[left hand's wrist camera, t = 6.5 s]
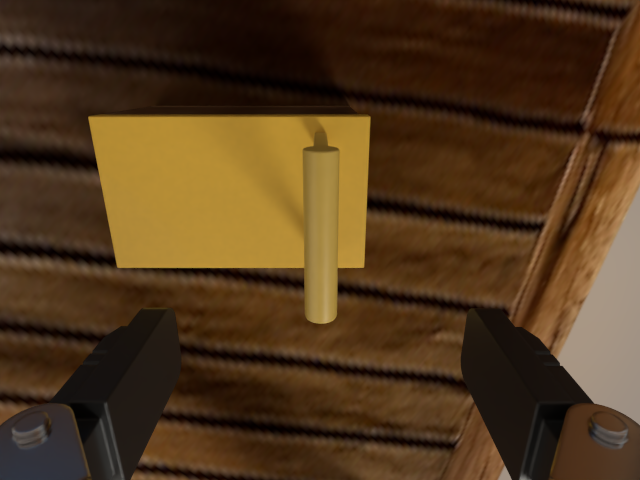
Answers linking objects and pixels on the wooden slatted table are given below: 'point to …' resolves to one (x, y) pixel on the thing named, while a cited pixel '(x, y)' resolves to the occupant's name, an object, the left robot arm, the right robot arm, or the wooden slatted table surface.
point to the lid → (238, 194)
